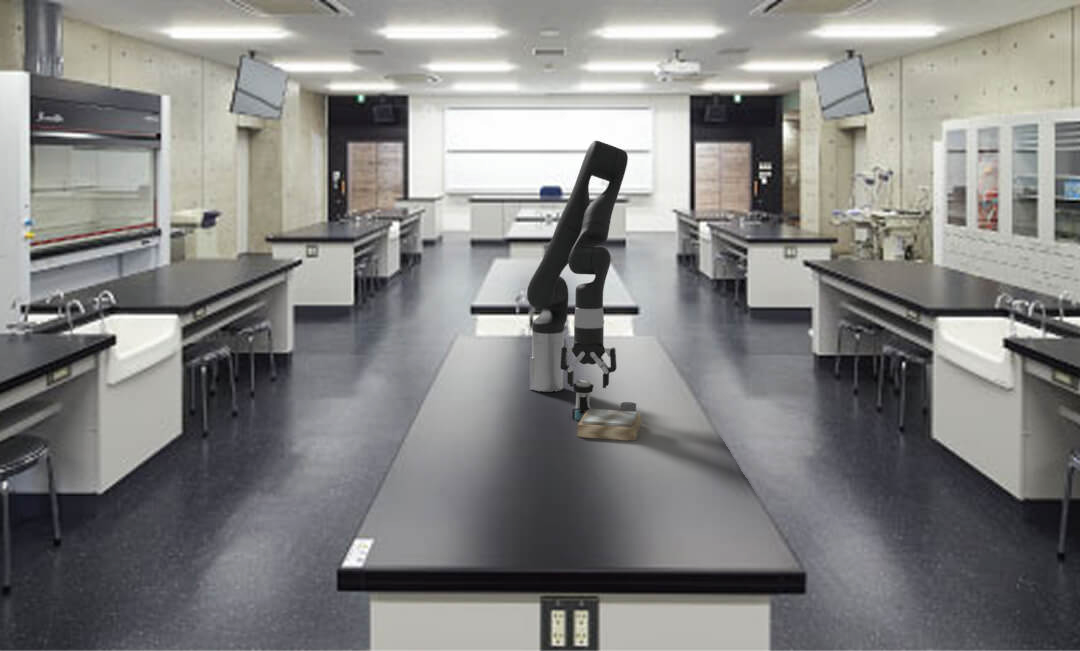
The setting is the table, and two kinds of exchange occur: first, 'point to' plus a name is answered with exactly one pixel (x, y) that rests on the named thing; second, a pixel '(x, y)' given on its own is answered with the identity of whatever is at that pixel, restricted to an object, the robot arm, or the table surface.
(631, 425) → the base block
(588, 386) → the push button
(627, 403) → the rubber stopper
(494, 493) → the table surface
